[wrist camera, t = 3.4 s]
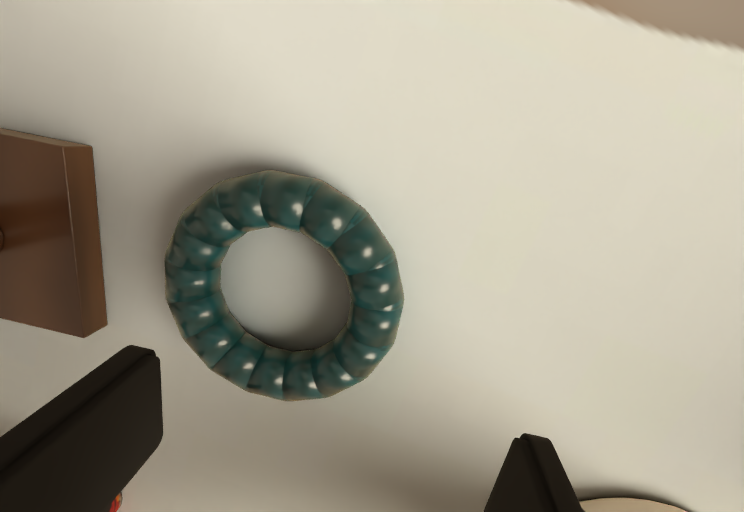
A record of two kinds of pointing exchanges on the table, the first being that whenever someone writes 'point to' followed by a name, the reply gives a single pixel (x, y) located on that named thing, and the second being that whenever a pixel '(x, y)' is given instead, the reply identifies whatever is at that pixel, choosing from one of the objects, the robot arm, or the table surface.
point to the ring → (316, 221)
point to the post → (49, 235)
